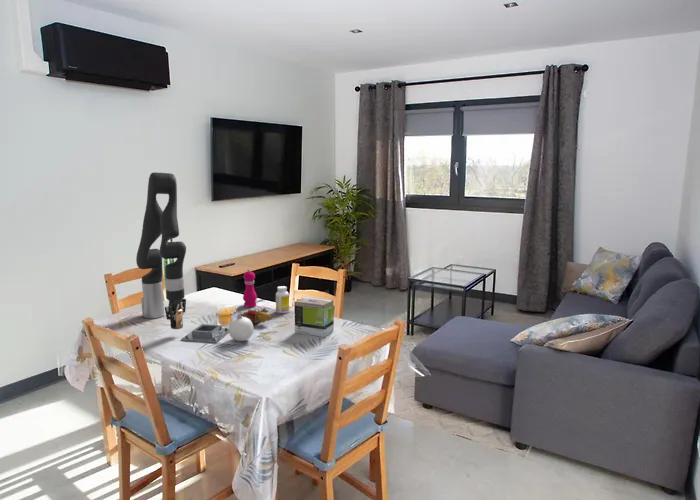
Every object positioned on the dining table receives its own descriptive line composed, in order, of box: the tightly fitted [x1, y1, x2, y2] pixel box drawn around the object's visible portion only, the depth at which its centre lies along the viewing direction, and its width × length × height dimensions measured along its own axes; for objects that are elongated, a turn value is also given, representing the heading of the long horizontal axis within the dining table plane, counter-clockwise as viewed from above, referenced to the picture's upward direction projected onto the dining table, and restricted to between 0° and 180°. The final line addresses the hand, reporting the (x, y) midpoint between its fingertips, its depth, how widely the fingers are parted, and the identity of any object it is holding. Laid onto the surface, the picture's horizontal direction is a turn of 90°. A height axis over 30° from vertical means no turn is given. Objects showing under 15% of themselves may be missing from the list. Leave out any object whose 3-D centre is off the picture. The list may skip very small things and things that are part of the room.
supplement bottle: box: [275, 285, 290, 314], centre depth 250 cm, size 7×7×13 cm
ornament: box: [228, 313, 254, 342], centre depth 210 cm, size 10×10×12 cm
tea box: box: [293, 296, 335, 338], centre depth 221 cm, size 15×10×15 cm
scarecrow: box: [239, 307, 273, 325], centre depth 233 cm, size 17×16×8 cm
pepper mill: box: [242, 268, 258, 308], centre depth 259 cm, size 7×7×20 cm
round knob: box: [170, 309, 184, 330], centre depth 215 cm, size 6×6×8 cm
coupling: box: [180, 323, 229, 344], centre depth 217 cm, size 16×16×3 cm
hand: (176, 325), depth 215 cm, fingers closed on round knob, 5 cm apart
